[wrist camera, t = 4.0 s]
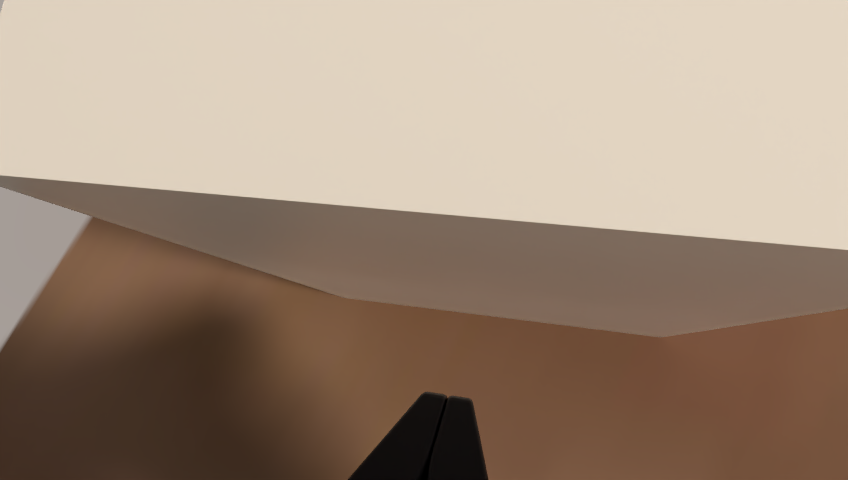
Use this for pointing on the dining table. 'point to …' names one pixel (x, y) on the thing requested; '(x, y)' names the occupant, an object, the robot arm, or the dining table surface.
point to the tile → (457, 147)
